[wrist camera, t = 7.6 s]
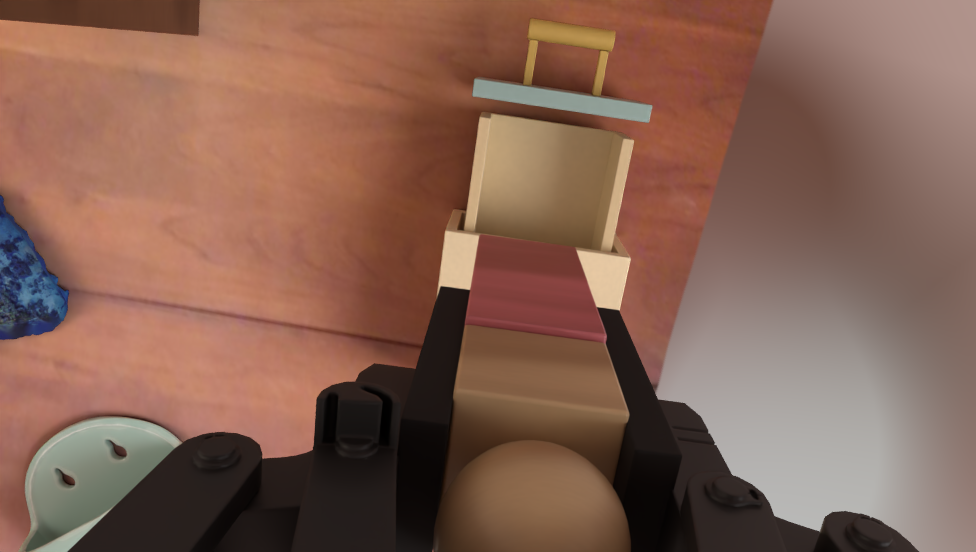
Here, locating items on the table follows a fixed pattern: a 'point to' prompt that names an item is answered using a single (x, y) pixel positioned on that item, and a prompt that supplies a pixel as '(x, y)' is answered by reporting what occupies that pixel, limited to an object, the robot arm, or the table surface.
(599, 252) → the cabinet
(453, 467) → the doll
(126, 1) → the stand
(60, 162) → the table surface
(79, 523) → the planter
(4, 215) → the rock
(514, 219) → the drawer
